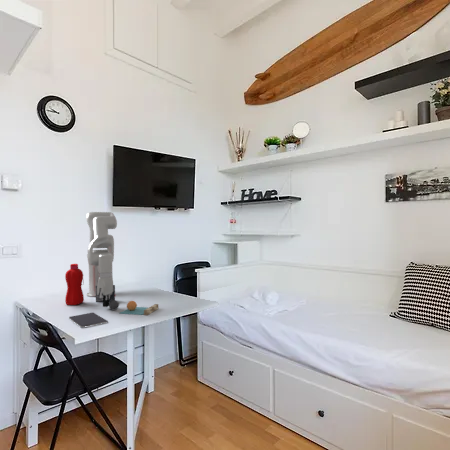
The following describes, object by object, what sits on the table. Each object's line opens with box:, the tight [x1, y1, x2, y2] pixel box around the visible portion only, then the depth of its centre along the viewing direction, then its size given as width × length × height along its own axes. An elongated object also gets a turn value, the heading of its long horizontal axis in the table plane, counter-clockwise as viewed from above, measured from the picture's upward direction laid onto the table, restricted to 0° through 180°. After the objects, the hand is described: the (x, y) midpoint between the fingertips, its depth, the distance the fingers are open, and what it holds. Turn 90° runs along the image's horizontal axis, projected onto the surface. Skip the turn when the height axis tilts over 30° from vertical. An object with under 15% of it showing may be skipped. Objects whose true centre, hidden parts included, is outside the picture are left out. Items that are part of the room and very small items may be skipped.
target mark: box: [119, 306, 149, 316], centre depth 183 cm, size 14×14×1 cm
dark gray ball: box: [108, 299, 120, 311], centre depth 186 cm, size 6×6×6 cm
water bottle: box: [64, 263, 85, 306], centre depth 201 cm, size 9×11×25 cm
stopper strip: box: [143, 303, 159, 316], centre depth 181 cm, size 14×2×2 cm, turn 167°
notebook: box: [68, 311, 109, 328], centre depth 166 cm, size 13×2×21 cm
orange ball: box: [126, 300, 138, 311], centre depth 184 cm, size 6×6×6 cm
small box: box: [95, 284, 116, 304], centre depth 206 cm, size 11×6×10 cm, turn 74°
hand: (106, 306), depth 188 cm, fingers closed
